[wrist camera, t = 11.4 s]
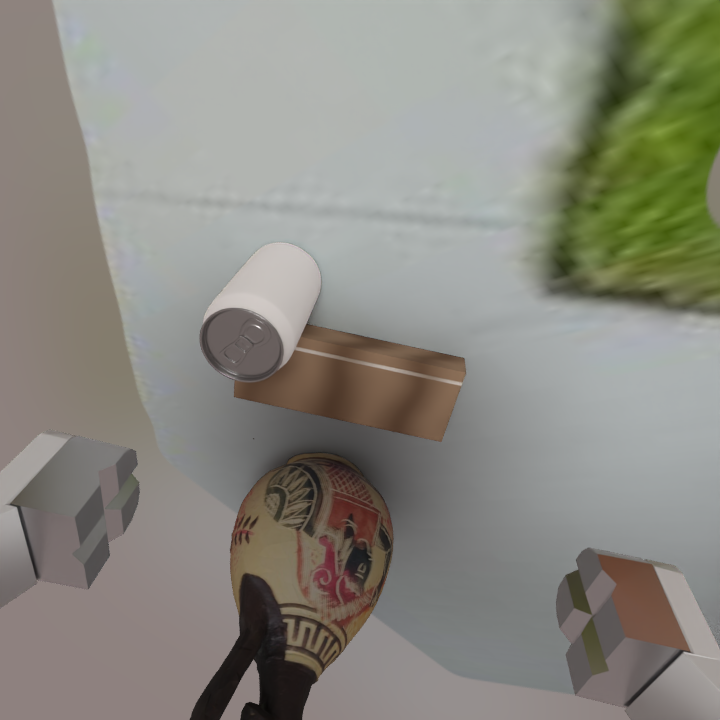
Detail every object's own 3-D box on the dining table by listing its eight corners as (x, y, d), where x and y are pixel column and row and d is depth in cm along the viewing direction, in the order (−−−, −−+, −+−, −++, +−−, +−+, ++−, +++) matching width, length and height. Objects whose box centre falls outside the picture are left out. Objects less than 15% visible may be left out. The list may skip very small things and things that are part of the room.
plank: (464, 358, 45) (466, 373, 43) (440, 425, 49) (441, 442, 47) (246, 311, 45) (237, 324, 43) (241, 382, 49) (233, 397, 47)
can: (338, 278, 42) (310, 350, 32) (290, 324, 45) (250, 403, 35) (279, 224, 41) (230, 281, 30) (233, 275, 43) (174, 344, 33)
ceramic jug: (427, 489, 54) (428, 876, 29) (330, 545, 61) (260, 899, 35) (313, 389, 49) (190, 755, 24) (220, 463, 56) (46, 809, 30)
